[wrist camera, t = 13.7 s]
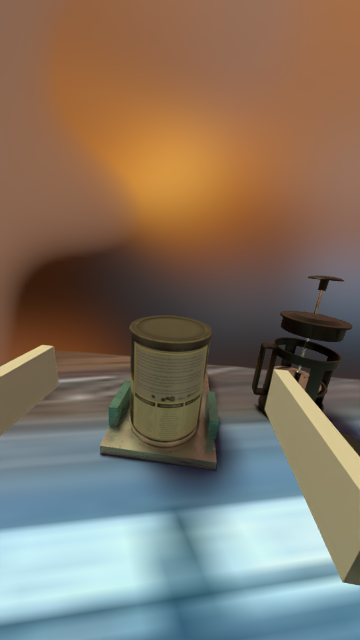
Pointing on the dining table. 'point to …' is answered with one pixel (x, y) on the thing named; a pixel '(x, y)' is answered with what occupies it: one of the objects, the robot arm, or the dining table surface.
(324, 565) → the dining table surface
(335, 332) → the french press
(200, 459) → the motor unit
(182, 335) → the coffee can
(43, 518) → the dining table surface
